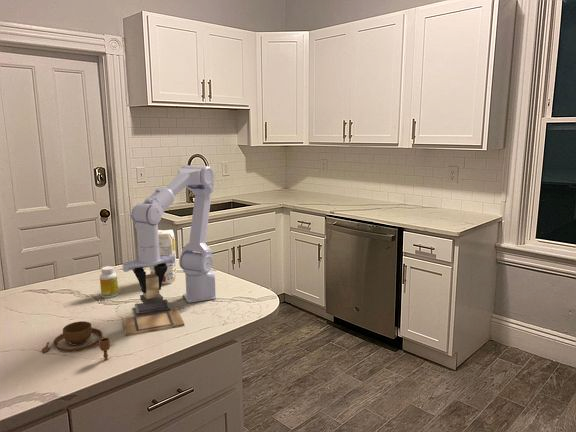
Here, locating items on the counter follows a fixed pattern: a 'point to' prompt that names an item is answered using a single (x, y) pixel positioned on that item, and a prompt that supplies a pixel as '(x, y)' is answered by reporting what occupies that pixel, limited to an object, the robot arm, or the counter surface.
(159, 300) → the stamp
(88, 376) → the counter surface
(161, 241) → the juice carton
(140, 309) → the ink pad
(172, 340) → the counter surface
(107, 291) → the supplement bottle
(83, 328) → the place setting
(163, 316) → the marked board
